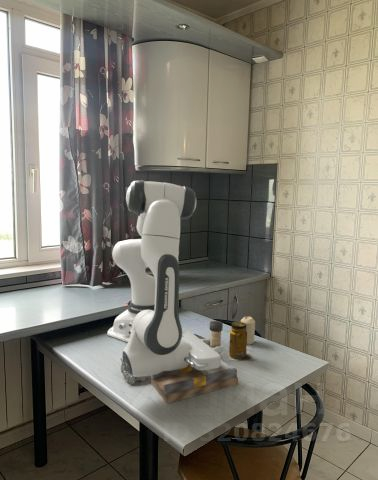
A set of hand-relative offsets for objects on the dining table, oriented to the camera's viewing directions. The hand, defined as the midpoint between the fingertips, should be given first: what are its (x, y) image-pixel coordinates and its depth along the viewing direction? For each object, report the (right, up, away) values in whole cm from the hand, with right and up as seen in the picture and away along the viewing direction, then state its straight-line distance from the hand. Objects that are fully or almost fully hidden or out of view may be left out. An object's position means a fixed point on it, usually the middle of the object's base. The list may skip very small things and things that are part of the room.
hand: (217, 345), depth 117 cm
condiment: (+9, -9, +17) cm, 22 cm away
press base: (-7, -11, -2) cm, 14 cm away
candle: (+14, -7, +29) cm, 33 cm away
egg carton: (-26, -11, +3) cm, 29 cm away
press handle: (-1, -9, +1) cm, 9 cm away
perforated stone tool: (-5, -9, +17) cm, 20 cm away
